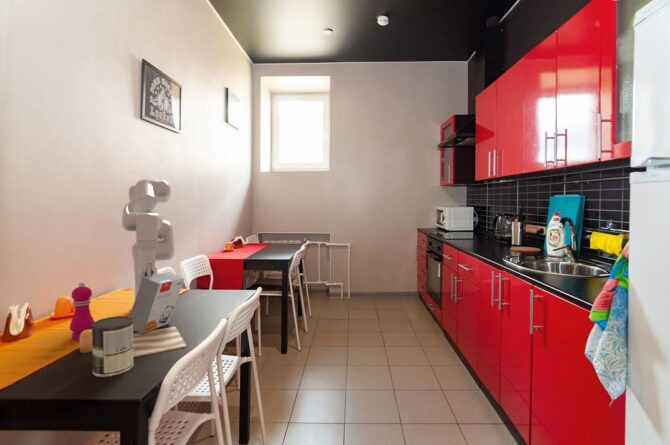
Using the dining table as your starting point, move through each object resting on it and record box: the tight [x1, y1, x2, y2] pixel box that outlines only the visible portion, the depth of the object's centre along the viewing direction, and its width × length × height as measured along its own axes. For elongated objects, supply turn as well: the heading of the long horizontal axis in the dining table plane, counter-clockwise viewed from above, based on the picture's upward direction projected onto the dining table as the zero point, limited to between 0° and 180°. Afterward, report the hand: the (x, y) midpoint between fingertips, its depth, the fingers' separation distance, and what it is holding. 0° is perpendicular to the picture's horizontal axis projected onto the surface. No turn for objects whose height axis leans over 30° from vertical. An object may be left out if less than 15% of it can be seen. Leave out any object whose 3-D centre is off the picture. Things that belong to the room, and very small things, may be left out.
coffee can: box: [91, 315, 134, 378], centre depth 102 cm, size 10×10×14 cm
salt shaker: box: [79, 329, 93, 354], centre depth 115 cm, size 4×4×7 cm
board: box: [133, 326, 187, 358], centre depth 123 cm, size 22×18×1 cm
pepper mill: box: [69, 282, 95, 341], centre depth 126 cm, size 7×7×20 cm
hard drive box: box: [129, 271, 185, 334], centre depth 135 cm, size 16×8×20 cm, turn 168°
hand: (147, 291), depth 136 cm, fingers closed
